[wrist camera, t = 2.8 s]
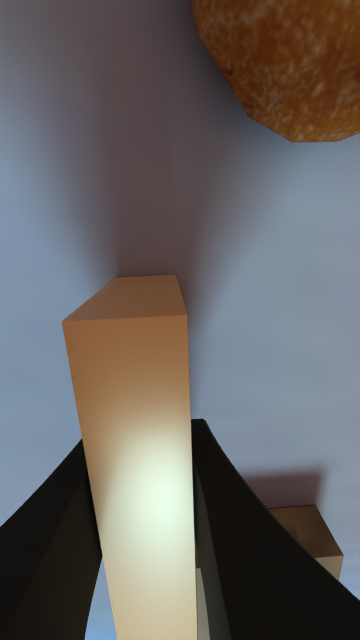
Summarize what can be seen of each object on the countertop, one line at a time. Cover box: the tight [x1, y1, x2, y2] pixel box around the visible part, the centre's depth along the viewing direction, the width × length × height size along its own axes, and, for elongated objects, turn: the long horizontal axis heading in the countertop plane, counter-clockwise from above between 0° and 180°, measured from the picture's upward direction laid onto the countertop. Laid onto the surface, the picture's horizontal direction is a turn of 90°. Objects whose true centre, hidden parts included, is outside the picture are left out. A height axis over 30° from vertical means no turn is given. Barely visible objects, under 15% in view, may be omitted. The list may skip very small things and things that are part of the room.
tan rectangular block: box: [62, 275, 197, 640], centre depth 10 cm, size 2×10×6 cm, turn 2°
